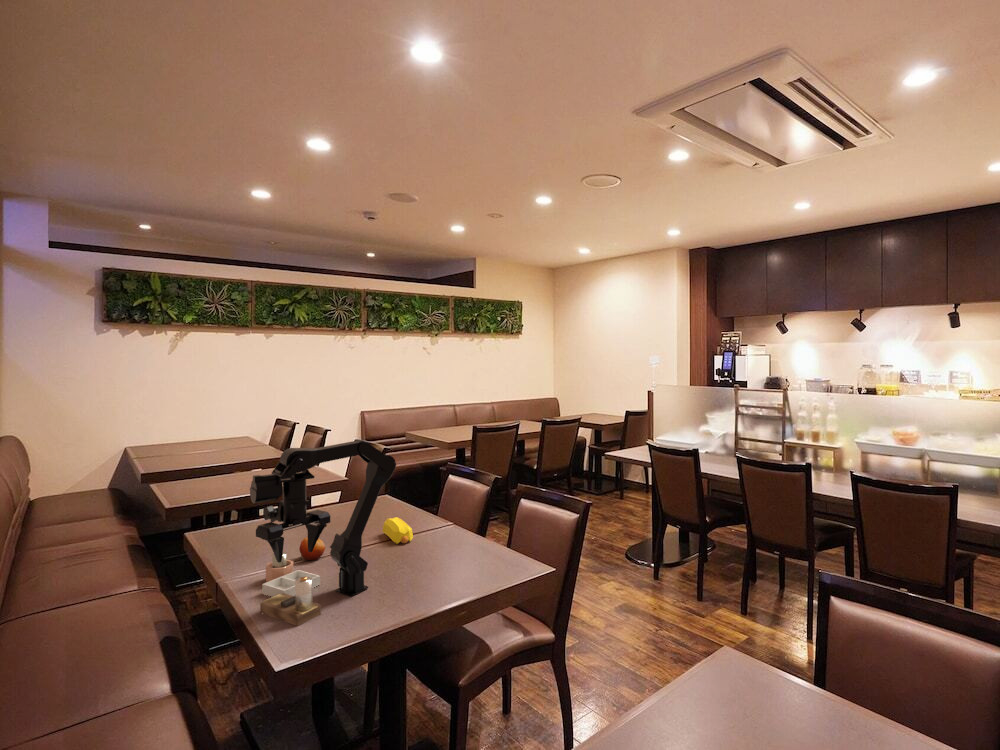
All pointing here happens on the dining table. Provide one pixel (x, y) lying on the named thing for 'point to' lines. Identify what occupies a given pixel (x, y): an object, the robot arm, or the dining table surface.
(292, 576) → the trough tray
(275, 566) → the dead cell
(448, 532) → the dining table surface
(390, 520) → the yellow lump
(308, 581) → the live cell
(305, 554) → the fruit
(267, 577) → the cup
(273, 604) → the cradle
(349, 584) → the robot arm
